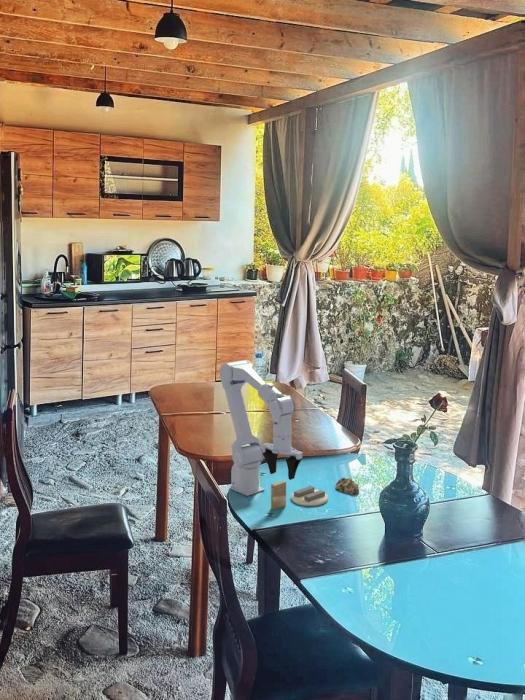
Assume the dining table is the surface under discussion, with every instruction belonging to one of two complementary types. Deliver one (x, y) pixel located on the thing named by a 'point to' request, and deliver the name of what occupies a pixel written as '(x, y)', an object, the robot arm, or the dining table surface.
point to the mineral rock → (347, 486)
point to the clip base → (313, 503)
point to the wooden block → (278, 495)
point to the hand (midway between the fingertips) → (282, 475)
